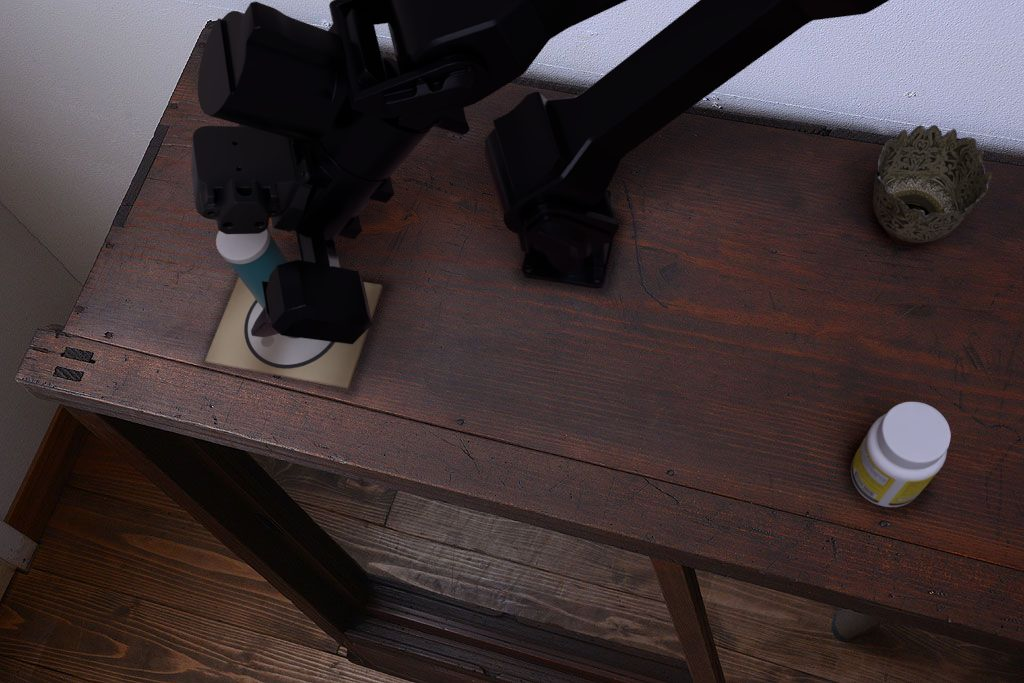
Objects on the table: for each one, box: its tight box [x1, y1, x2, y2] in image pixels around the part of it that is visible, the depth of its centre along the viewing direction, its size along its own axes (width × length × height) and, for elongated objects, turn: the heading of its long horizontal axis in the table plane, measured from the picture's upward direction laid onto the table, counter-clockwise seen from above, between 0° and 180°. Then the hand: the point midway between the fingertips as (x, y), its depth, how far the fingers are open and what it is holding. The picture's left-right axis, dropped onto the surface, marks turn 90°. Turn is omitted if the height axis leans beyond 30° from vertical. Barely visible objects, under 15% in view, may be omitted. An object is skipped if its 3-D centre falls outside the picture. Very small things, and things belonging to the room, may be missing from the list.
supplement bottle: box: [850, 401, 952, 508], centre depth 63 cm, size 5×5×8 cm
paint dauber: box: [215, 227, 298, 338], centre depth 71 cm, size 4×4×12 cm
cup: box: [872, 124, 993, 246], centre depth 71 cm, size 8×7×8 cm
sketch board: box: [204, 276, 383, 390], centre depth 77 cm, size 12×9×1 cm
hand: (249, 279), depth 70 cm, fingers open, 9 cm apart
